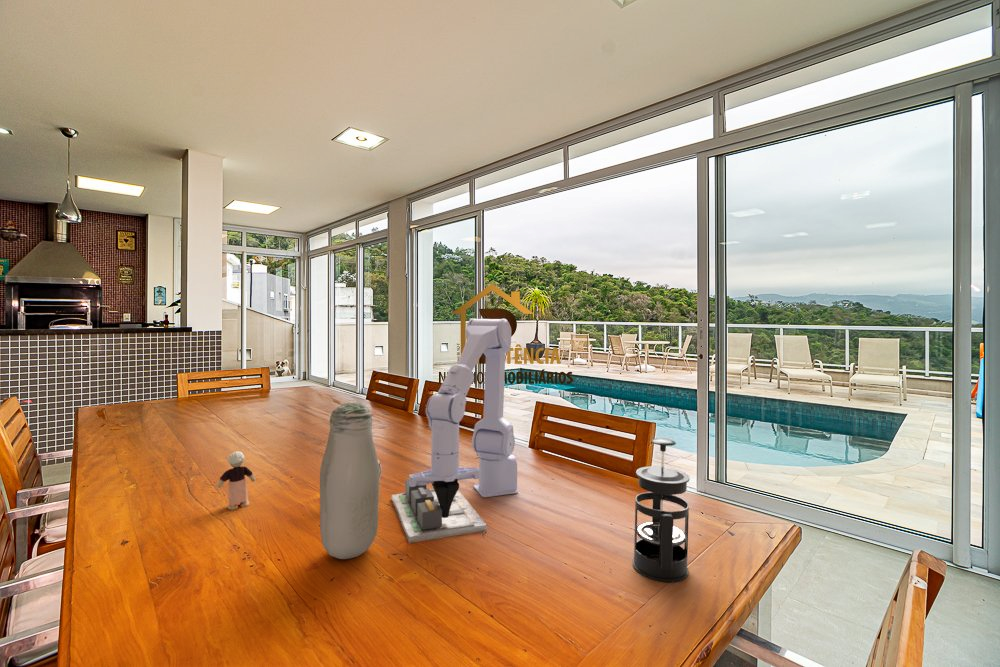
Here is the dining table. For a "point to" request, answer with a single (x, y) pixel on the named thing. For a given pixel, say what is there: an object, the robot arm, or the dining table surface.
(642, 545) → the french press
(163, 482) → the dining table surface
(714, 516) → the dining table surface
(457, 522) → the breaker panel
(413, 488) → the breaker
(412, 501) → the breaker
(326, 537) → the glass bottle
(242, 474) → the grandmother figurine
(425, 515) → the block
